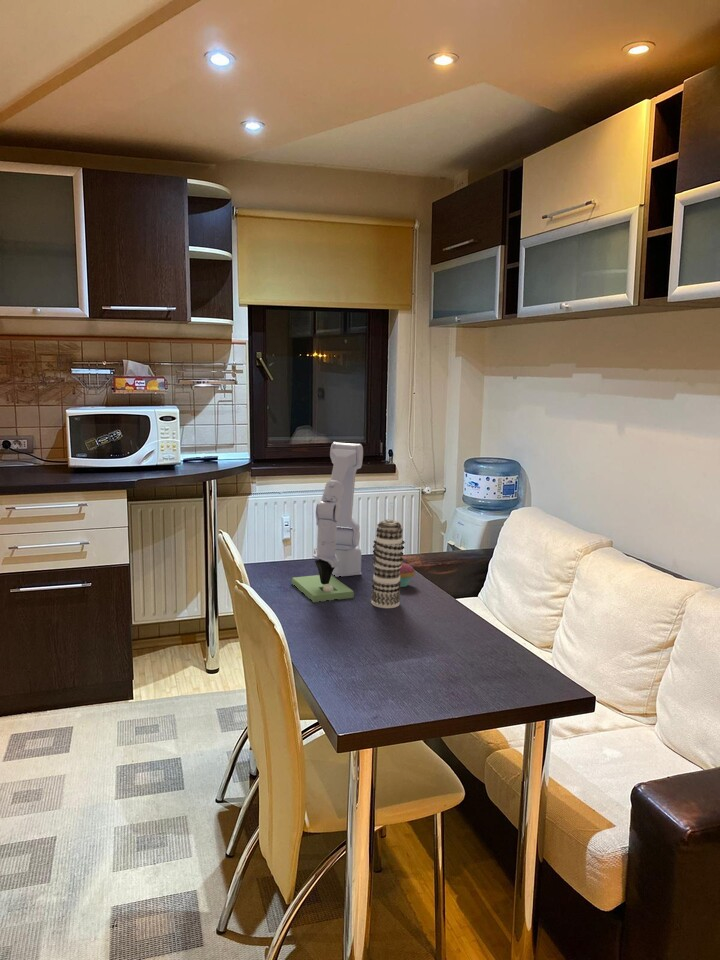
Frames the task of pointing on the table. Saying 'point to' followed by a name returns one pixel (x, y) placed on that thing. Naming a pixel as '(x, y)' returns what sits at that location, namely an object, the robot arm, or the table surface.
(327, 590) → the ball
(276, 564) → the table surface
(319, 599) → the putting mat
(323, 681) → the table surface
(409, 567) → the cupcake
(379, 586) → the cream and black cylinder
